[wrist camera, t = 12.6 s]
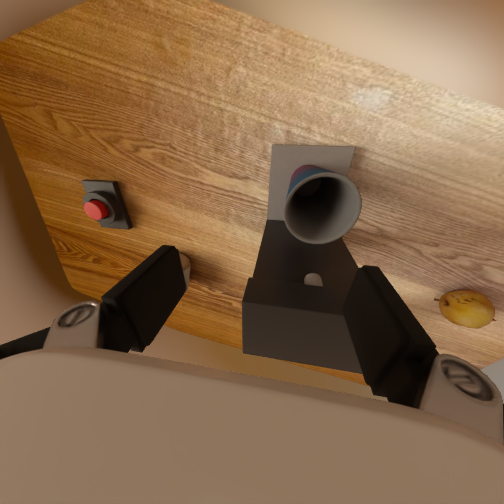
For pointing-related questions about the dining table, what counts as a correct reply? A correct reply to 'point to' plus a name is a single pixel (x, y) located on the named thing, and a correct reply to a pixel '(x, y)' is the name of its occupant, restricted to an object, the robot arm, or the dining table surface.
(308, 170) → the cup
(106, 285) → the dining table surface
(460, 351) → the dining table surface
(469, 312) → the fruit
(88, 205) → the button
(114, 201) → the pad
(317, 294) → the coffee maker
